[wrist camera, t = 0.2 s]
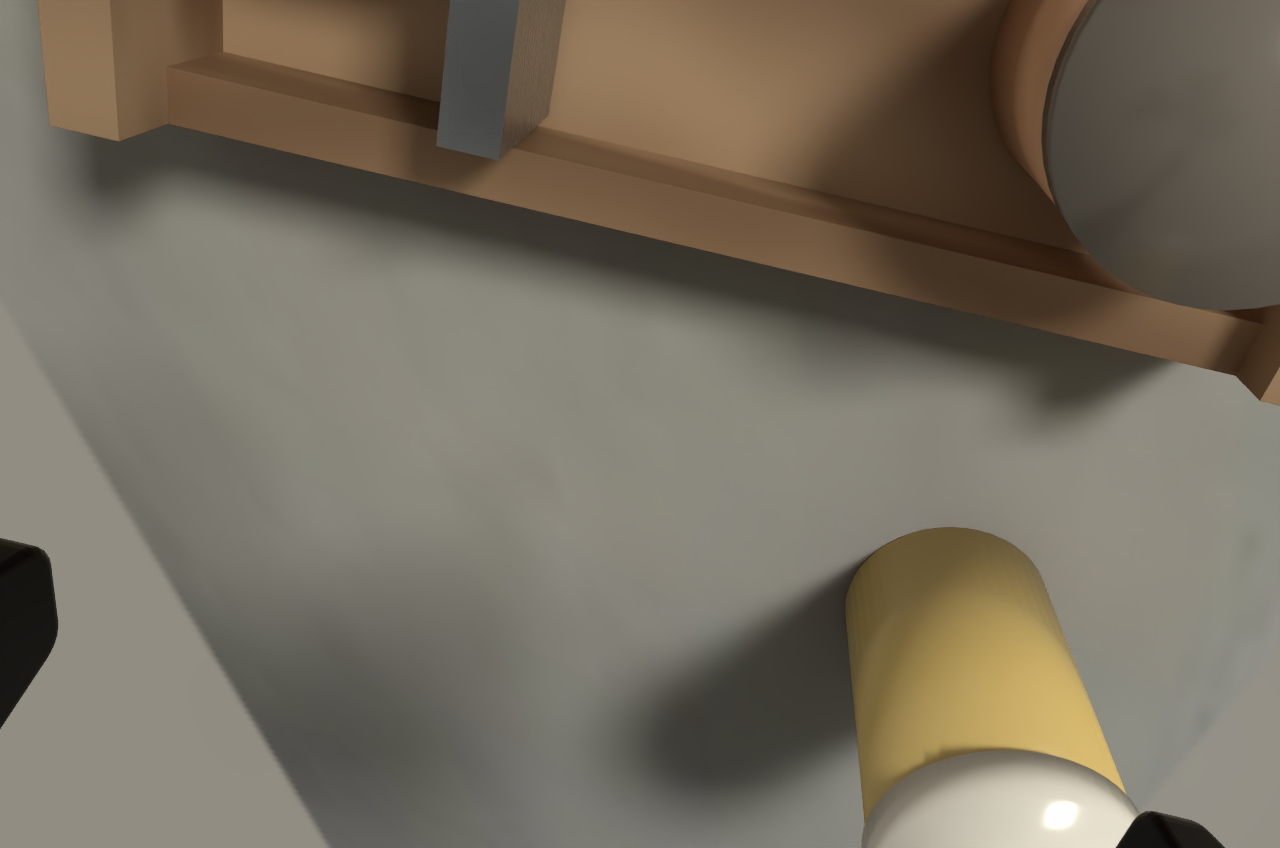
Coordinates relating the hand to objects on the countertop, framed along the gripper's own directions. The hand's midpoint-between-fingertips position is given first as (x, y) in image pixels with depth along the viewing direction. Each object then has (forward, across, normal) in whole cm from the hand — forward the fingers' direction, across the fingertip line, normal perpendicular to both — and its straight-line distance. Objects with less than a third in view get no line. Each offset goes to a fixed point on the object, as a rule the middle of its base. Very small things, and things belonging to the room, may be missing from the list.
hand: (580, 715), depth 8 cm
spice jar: (+13, -7, -5) cm, 16 cm away
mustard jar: (+14, -8, +8) cm, 18 cm away
